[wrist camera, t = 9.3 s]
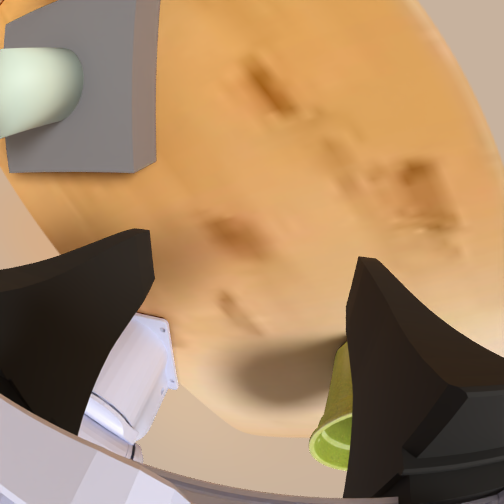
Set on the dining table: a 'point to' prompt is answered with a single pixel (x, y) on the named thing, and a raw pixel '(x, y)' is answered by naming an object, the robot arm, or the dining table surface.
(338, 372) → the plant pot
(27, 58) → the sage cylinder
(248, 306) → the dining table surface
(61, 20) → the gray square block
